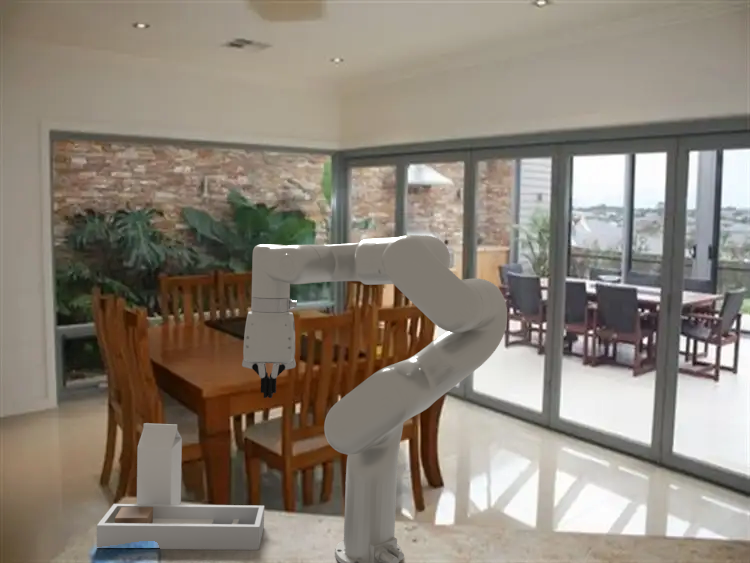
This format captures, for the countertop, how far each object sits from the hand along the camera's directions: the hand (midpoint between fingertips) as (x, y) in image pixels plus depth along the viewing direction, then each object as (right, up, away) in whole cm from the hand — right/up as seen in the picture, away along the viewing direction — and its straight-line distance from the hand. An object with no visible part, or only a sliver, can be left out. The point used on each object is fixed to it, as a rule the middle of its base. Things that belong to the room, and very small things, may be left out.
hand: (268, 396), depth 139 cm
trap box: (-16, -27, -5) cm, 31 cm away
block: (-25, -25, -6) cm, 36 cm away
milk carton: (-24, -26, +7) cm, 36 cm away
